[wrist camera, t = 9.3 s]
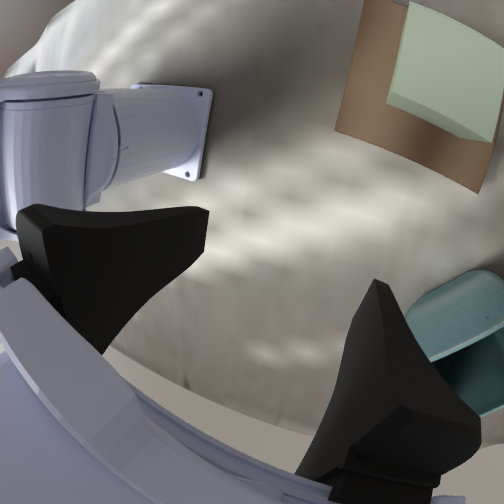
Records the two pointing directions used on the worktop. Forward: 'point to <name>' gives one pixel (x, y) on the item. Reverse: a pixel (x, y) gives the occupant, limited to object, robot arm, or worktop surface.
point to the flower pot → (465, 336)
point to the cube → (448, 75)
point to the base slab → (396, 120)
